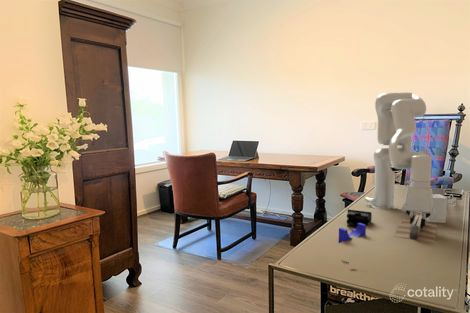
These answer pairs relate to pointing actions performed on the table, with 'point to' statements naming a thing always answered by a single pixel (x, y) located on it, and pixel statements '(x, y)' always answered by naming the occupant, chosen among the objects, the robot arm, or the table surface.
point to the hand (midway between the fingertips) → (417, 226)
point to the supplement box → (438, 209)
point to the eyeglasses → (451, 200)
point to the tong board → (423, 232)
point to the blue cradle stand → (352, 232)
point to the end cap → (358, 218)
